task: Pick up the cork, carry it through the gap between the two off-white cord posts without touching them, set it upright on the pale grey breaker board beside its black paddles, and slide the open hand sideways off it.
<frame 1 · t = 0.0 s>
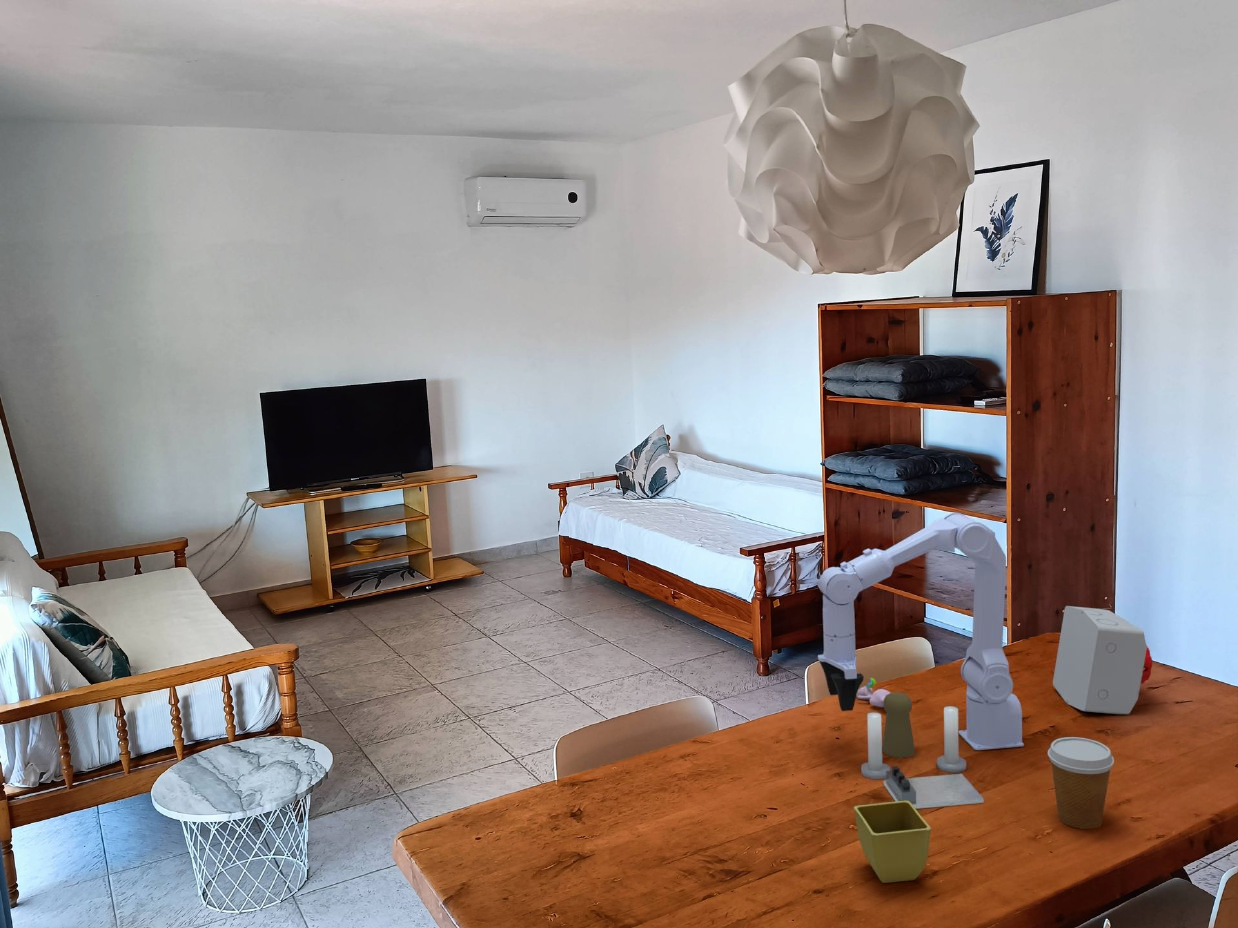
hand: (841, 701, 182), 10 cm above the table, tool pointing down, fingers open, 7 cm apart
disposable coffee cup: (1079, 820, 156), on the table
flower pot: (892, 874, 144), on the table
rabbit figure: (878, 706, 205), on the table
cord post 1: (875, 772, 175), on the table
breaker board: (932, 793, 167), on the table
cord post 2: (951, 766, 176), on the table
electrical switch box: (1106, 702, 200), on the table
cork: (898, 751, 183), on the table
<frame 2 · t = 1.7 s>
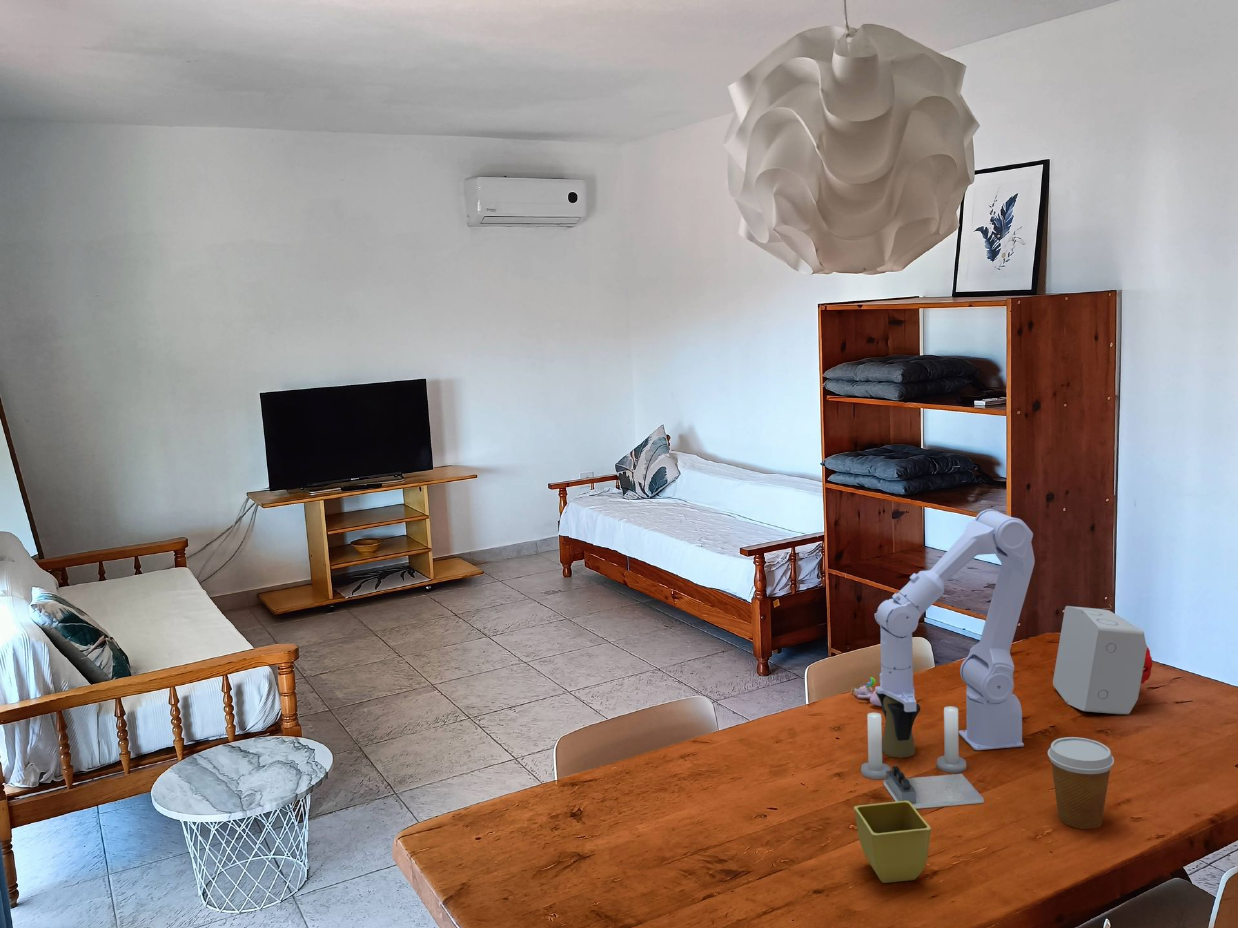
hand: (898, 733, 183), 3 cm above the table, tool pointing down, fingers closed on cork, 5 cm apart
cork: (898, 751, 183), on the table, touching gripper
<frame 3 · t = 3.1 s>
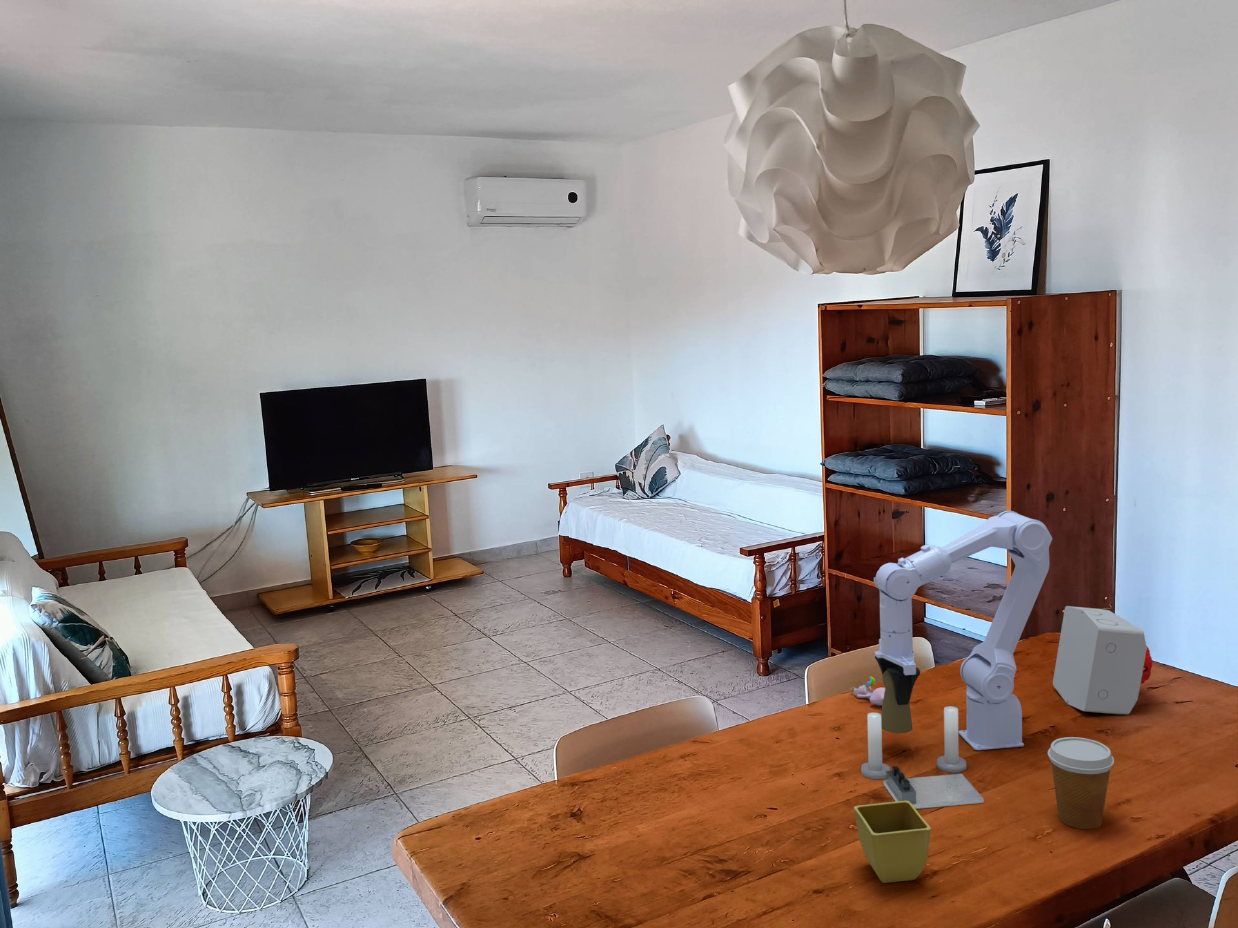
hand: (897, 698, 182), 10 cm above the table, tool pointing down, fingers closed on cork, 5 cm apart
cork: (895, 727, 183), point 5 cm above the table, touching gripper
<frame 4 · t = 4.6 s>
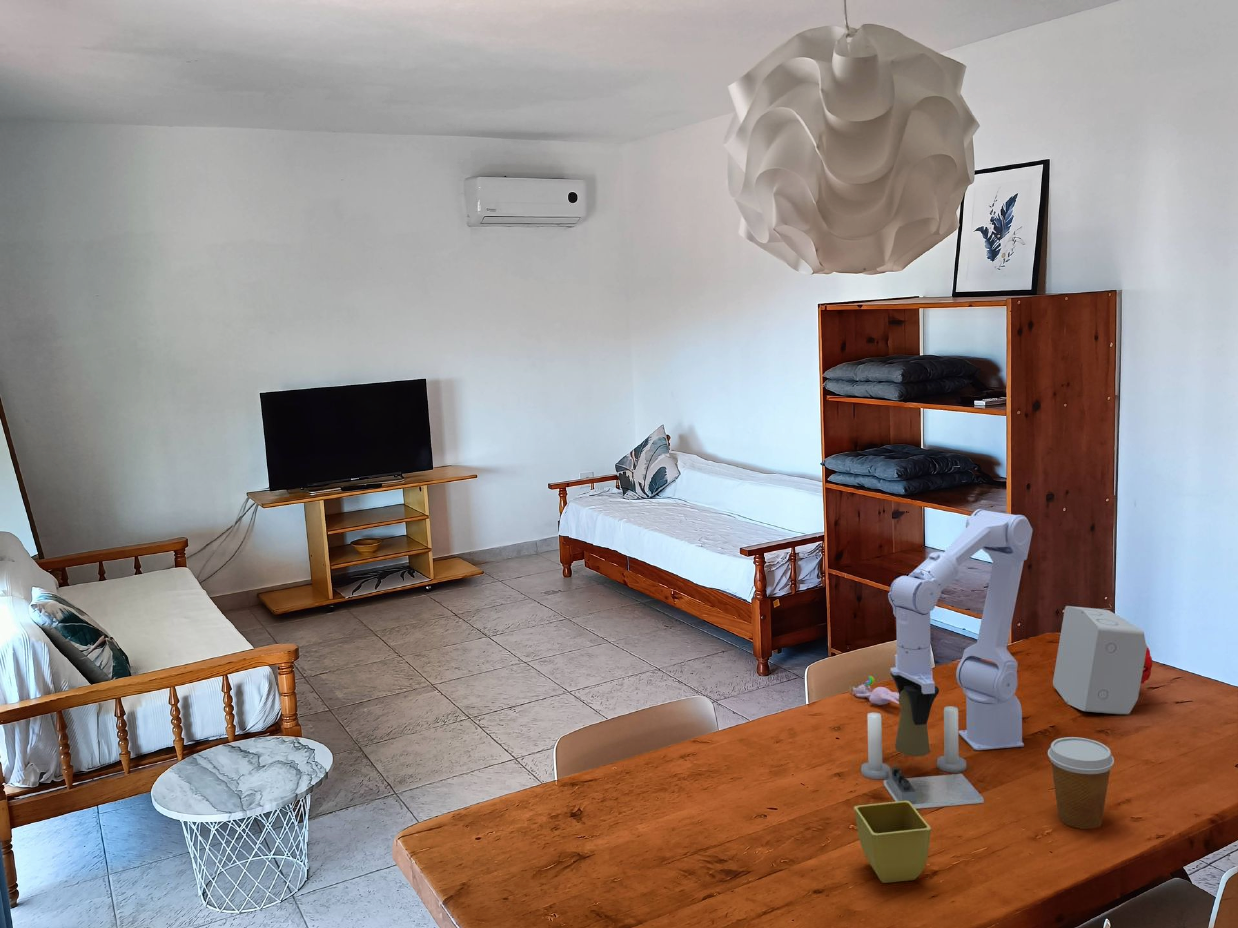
hand: (914, 717, 173), 10 cm above the table, tool pointing down, fingers closed on cork, 5 cm apart
cork: (912, 749, 174), point 4 cm above the table, touching gripper
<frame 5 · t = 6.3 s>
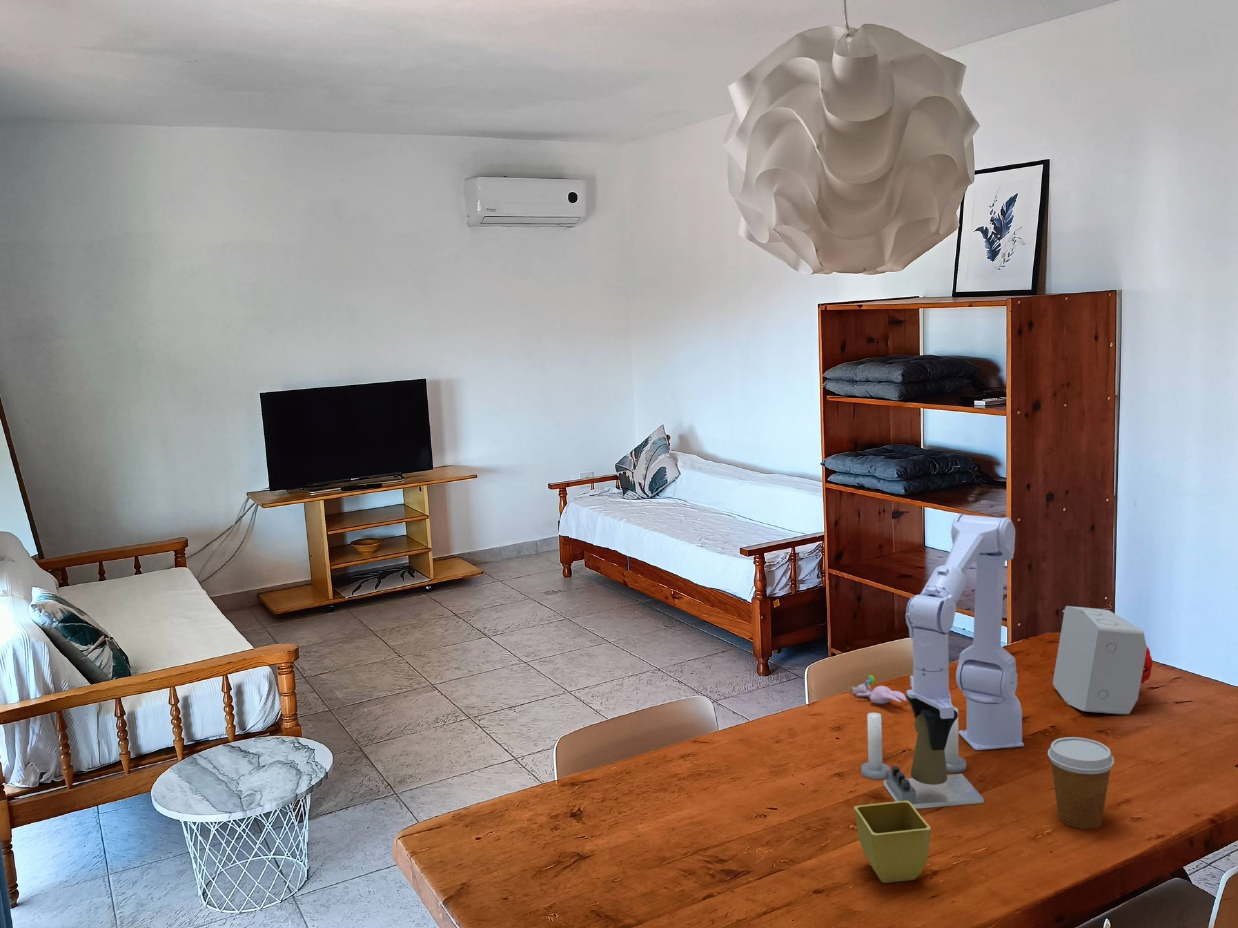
hand: (931, 741, 165), 9 cm above the table, tool pointing down, fingers closed on cork, 5 cm apart
cork: (928, 776, 166), point 3 cm above the table, touching gripper
when the fingers open (6 cm above the table, at t = 7.5 s): cork stays where it is, resting on breaker board.
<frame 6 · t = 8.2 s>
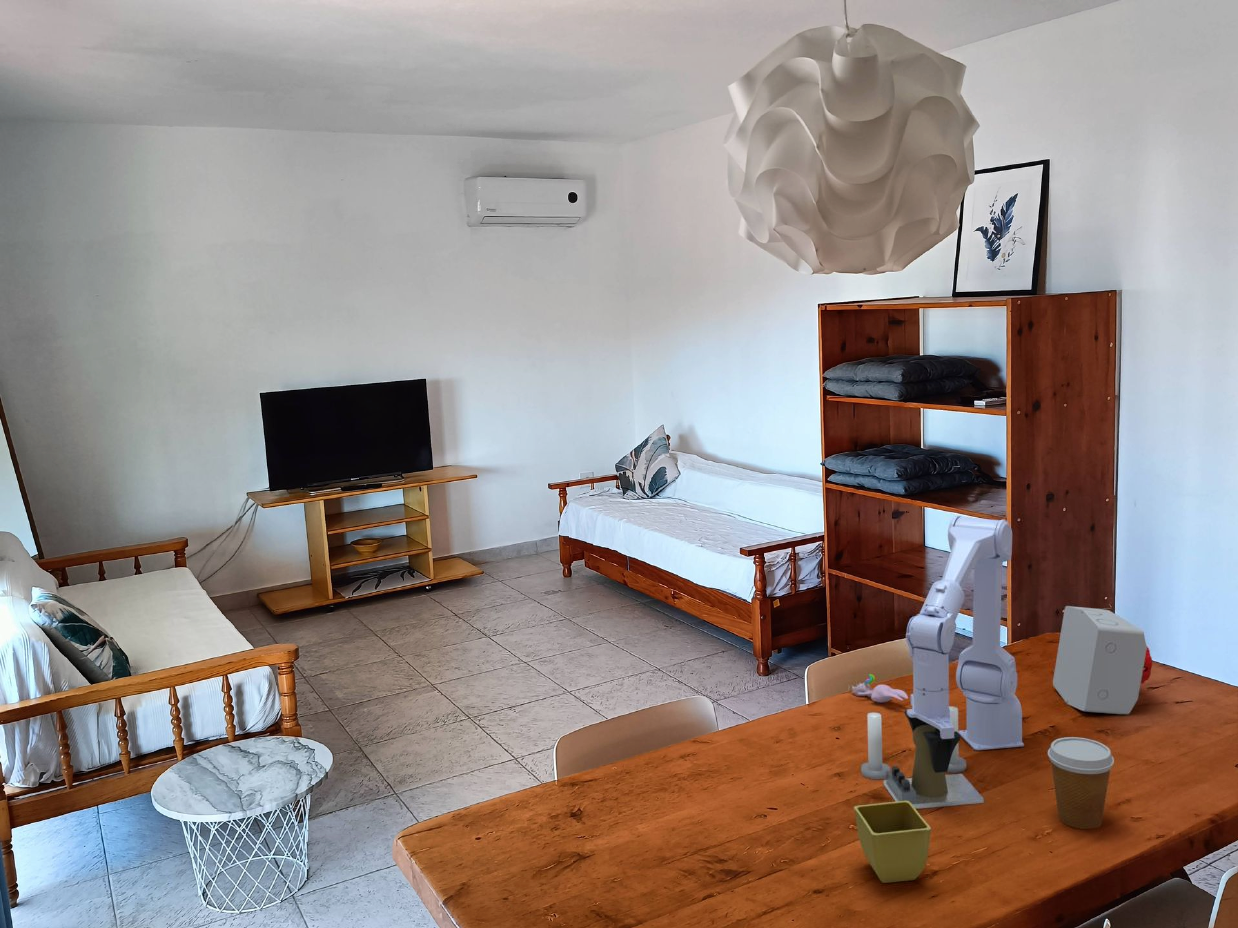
hand: (932, 760, 166), 6 cm above the table, tool pointing down, fingers open, 7 cm apart
cork: (929, 789, 167), point 1 cm above the table, touching breaker board
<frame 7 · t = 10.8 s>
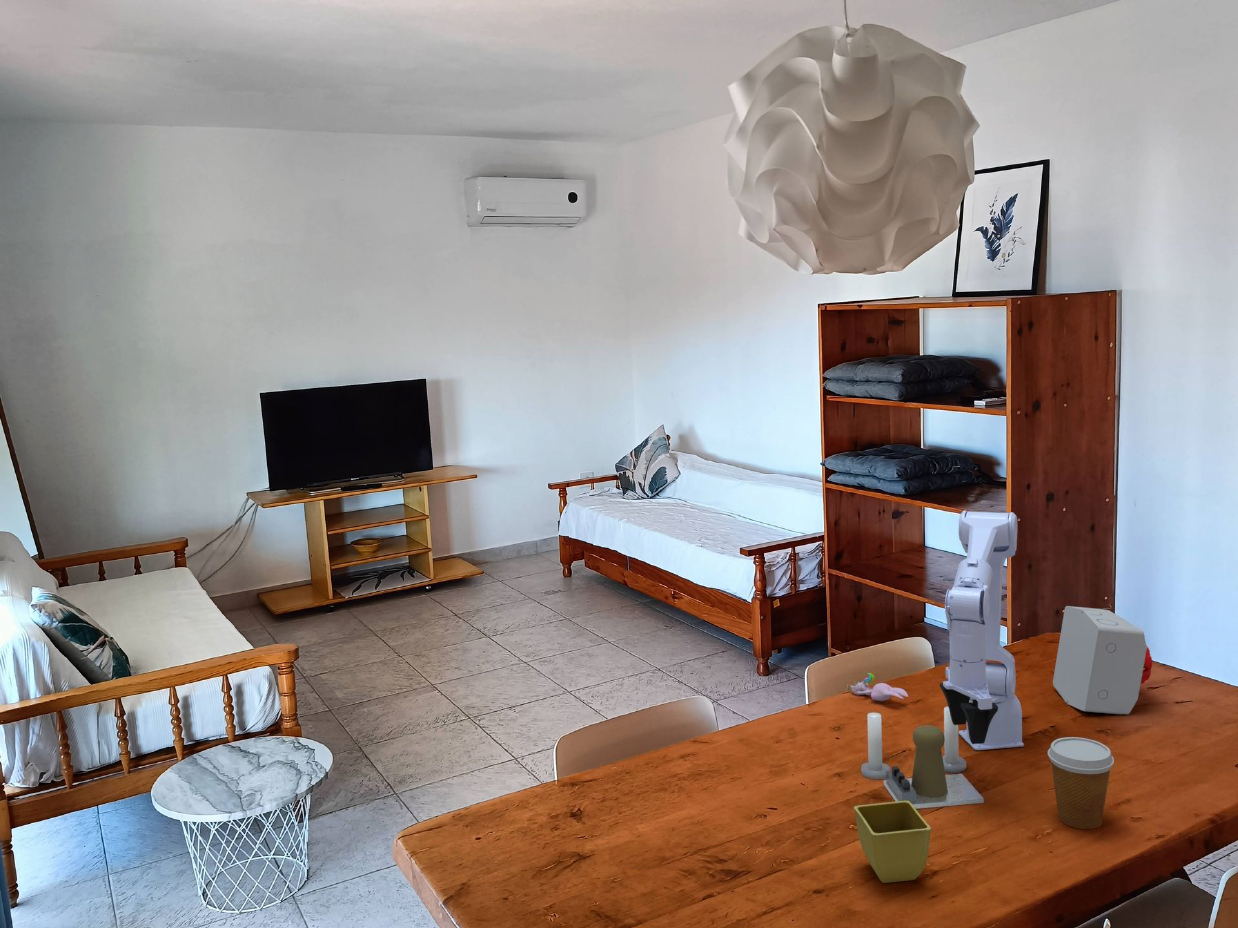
hand: (968, 733, 165), 10 cm above the table, tool pointing down, fingers open, 7 cm apart
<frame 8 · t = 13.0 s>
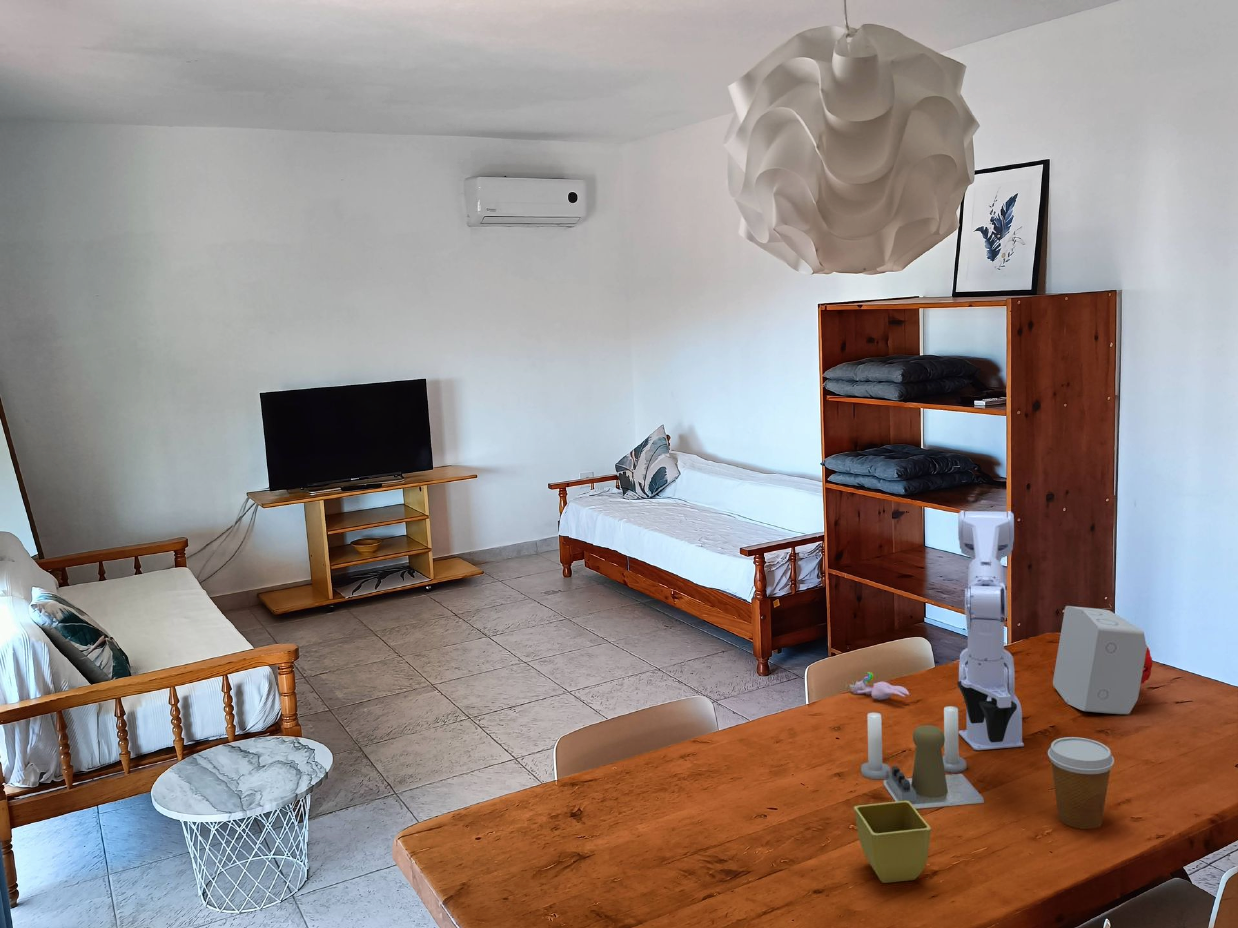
hand: (986, 731, 166), 10 cm above the table, tool pointing down, fingers open, 7 cm apart
at the end: cork inside the target area on the breaker board (0.5 cm from its centre), point 0.6 cm above the breaker board's base; cord post 2 moved 0.0 cm from its start; cord post 1 moved 0.0 cm from its start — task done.
